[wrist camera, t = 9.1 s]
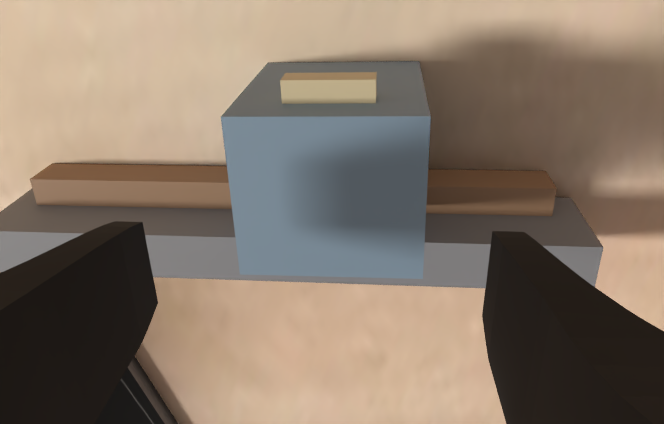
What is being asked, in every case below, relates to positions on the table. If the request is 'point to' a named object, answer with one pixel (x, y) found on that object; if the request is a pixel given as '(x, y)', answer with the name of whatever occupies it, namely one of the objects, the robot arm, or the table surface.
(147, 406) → the phone
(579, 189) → the table surface
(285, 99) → the cabinet
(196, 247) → the grey and brown bar
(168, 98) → the table surface
